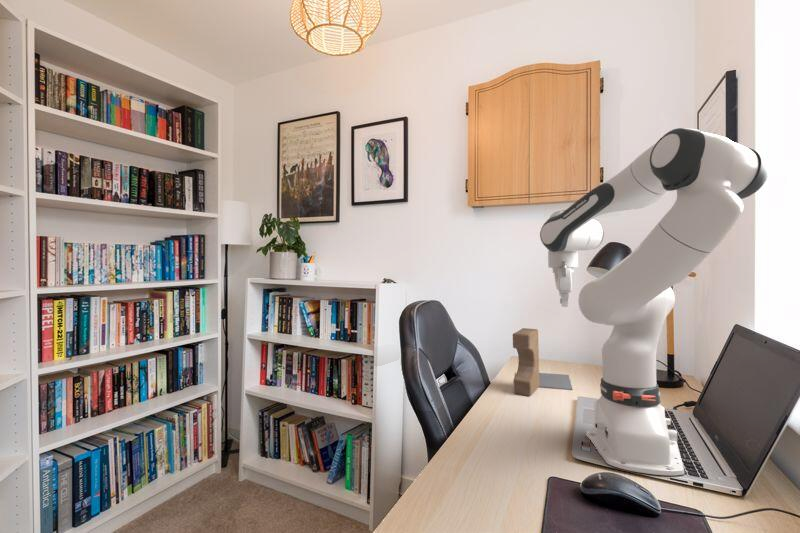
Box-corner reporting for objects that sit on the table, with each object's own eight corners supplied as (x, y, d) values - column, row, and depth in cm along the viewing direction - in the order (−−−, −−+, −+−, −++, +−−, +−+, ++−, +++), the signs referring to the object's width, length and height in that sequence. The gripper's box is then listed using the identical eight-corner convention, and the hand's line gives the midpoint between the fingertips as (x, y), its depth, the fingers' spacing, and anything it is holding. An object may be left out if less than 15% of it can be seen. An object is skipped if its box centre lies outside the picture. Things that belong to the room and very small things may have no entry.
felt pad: (572, 390, 131) (572, 388, 131) (513, 385, 137) (513, 384, 137) (568, 375, 148) (568, 374, 148) (516, 372, 154) (516, 371, 154)
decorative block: (530, 396, 125) (529, 335, 124) (513, 393, 128) (511, 333, 128) (540, 386, 134) (538, 329, 134) (523, 384, 137) (522, 327, 137)
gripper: (576, 261, 114) (577, 308, 114) (571, 262, 133) (572, 302, 133) (553, 262, 116) (554, 308, 116) (551, 262, 135) (552, 302, 135)
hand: (563, 305), depth 125 cm, fingers open, 8 cm apart
